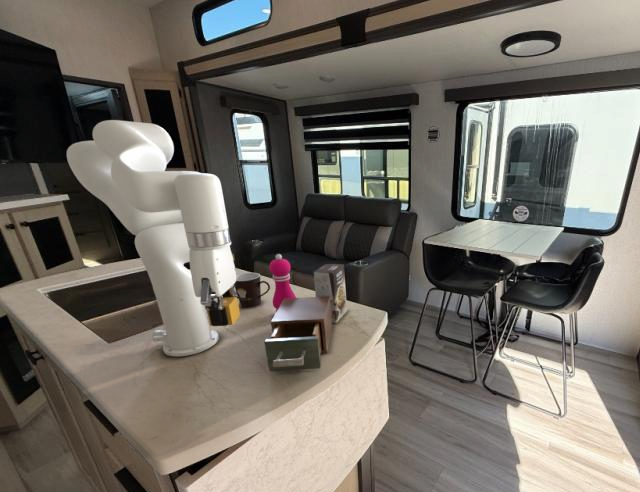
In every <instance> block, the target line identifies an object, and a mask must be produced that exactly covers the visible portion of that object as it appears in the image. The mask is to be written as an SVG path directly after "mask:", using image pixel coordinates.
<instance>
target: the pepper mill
mask: <svg viewBox="0 0 640 492" xmlns="http://www.w3.org/2000/svg"><path fill="white" fill-rule="evenodd" d="M290 271H291V264H290V262H289V260H287V259H285V258H283V256H282V254H280V253H276V255H275V259H272V261H271V262H270V263H269V272H270V273H271V274H272V280H273V282H274V284H275V285H274V286H275V287H274V292H273V293H274V294H273V297H272V306H273V308H274V309H275V313H276V312H277V310H278V309H279V307H280V305H281V304H282V302H283V300H284V299H285V298H297V296H296V294H295V293H294V291H293V290H292V287H291V284H290V279H291V274H290Z"/></svg>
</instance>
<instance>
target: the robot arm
mask: <svg viewBox="0 0 640 492" xmlns="http://www.w3.org/2000/svg"><path fill="white" fill-rule="evenodd" d="M92 139H93V140H83V141H79V142H75V143H72V144H71V145H70V146H68V148H67V149H66V159H67V163H68V165H69V168H70V169H71V172H72V173H73V175H74V176H75V178H76V179H77V181H78V182H79V183H80V185H82V186H83V187H84V189H86V190H87V191H88V192H90V193H91V194H92V195H93V196H94V197H96V198H97V199H99V200H100V201H102V202H103V203H104V204H105V206H107V207H108V208H109V210H110V211H111V212H112V213H113V215H114V216H115V217H116V218H117V220H119V222H120V223H121V225H123V226H124V228H125V229H126V230H127V231H129V232H130V233H131V234H132V235H134V236H135V238H134V245H135V249H136V251H137V254H138V256H139V258H140V259H141V261H142V264H143V266H144V268H145V270H146V272H147V274H148V275H147V276H148V277H149V280H150V283H151V286H152V290H153V293H154V295H155V299H156V303H157V307H158V311H159V314H160V317H161V321H162V324H163V327H164V329H162V330H161V329H160V330H154V331H153V332H152V341H153V342H163V344H162V345H163V346H162V351H163V353H164V354H165V355H166V356H168V357H175V358H176V357H187V356H192V355H196V354H199V353H201V352H204V351H207V350H209V349H210V348H212V347H213V346H214V345H215V344H216V343H218V341H219V339H220V336H219V332H217V331H216V330H215V329H214V330H213V329H211V327H210V322H209V317H208V313H207V310H209V315H210V320H211V324H212V327H227V326H229V325H228V318H227V313H226V308H223V298H224V297H236V290H235V287H234V283H235V282H236V275H237V271H236V266H235V262H234V257H233V252H232V250H231V245H232V239H231V234H230V228H229V227H230V226H229V223H228V216H227V211H226V204H225V200H224V193H223V188H222V183H221V180H220V178H219V176H217V175H215V174H212V173H202V172H199V171H193V170H166V169H167V165H168V164H169V162H170V161H171V160H172V158H173V156H174V152H175V145H174V141H173V140H172V137H171V136H170V134H169V132H167V131H166V129H164V128H163V127H161V126H160V125H158V124H155V123H150V122H139V121H128V120H120V119H108V120H102V121H100V122H98V123H96V125H95V126H94V127H93V128H92ZM187 263H189V268H190V269H188V268H187V267H186V266H184V265H185V264H187ZM212 293H214V294H212ZM215 298H217V301H218V303H217V302H216V301H213V300H214V299H215ZM206 307H207V308H206Z"/></svg>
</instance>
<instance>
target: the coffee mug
mask: <svg viewBox="0 0 640 492" xmlns="http://www.w3.org/2000/svg"><path fill="white" fill-rule="evenodd" d="M261 284H265V285H266V286H267V289H266V291H264V292H263V293H261V290H262V289H261ZM270 290H271V285H270V283H269V282H267V281H266V280H261V274H260V273H258V272H243V273H239V274H236V282H235V283H234V291H235V294H236V297H237V300H238V301H239V302H238V303H239V304H240V307H241V308H244V309H249V308H256V307H259V305H261V303H262V297H263V296H265V295H266V294H267V293H269V291H270Z"/></svg>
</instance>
